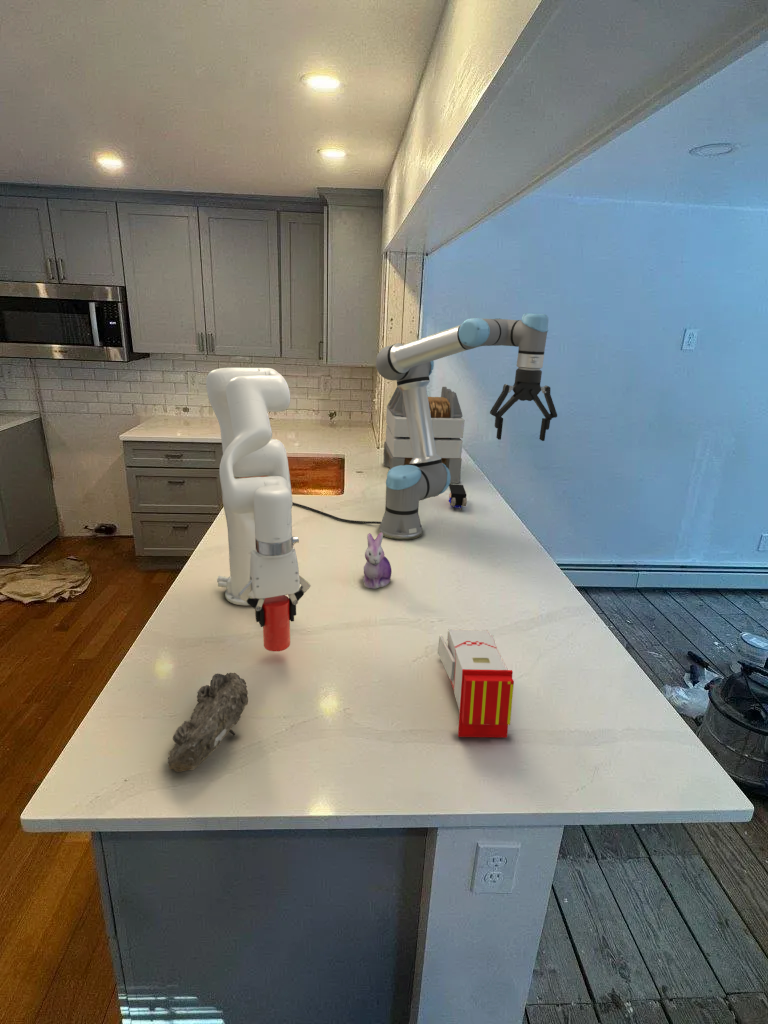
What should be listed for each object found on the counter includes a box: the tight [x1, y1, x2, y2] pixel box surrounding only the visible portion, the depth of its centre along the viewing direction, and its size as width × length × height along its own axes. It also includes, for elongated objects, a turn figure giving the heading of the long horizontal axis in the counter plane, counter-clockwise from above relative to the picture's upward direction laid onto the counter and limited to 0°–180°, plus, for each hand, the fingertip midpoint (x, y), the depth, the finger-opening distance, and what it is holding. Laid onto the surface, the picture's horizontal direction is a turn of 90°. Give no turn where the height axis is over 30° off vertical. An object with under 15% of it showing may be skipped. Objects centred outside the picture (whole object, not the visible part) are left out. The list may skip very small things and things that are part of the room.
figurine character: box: [448, 483, 468, 511], centre depth 230 cm, size 7×8×15 cm
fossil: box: [167, 672, 249, 773], centre depth 102 cm, size 22×10×15 cm
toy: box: [437, 628, 515, 738], centre depth 117 cm, size 12×13×30 cm
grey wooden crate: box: [383, 386, 465, 484], centre depth 268 cm, size 34×33×41 cm
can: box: [262, 595, 291, 652], centre depth 124 cm, size 6×6×11 cm
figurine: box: [362, 532, 392, 589], centre depth 161 cm, size 9×10×15 cm
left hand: (276, 620), depth 124 cm, fingers closed on can, 5 cm apart
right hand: (520, 439), depth 175 cm, fingers open, 13 cm apart
